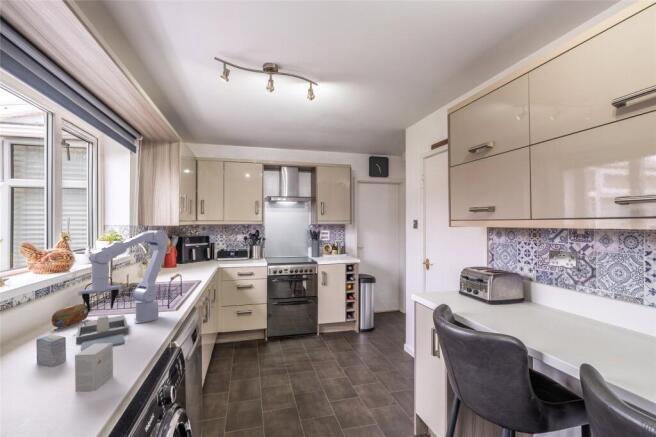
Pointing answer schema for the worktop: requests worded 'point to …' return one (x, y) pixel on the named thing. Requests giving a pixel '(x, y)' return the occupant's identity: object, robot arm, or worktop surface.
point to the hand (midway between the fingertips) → (100, 309)
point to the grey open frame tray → (92, 326)
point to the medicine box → (51, 350)
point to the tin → (69, 316)
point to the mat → (104, 341)
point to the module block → (102, 323)
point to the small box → (93, 366)
